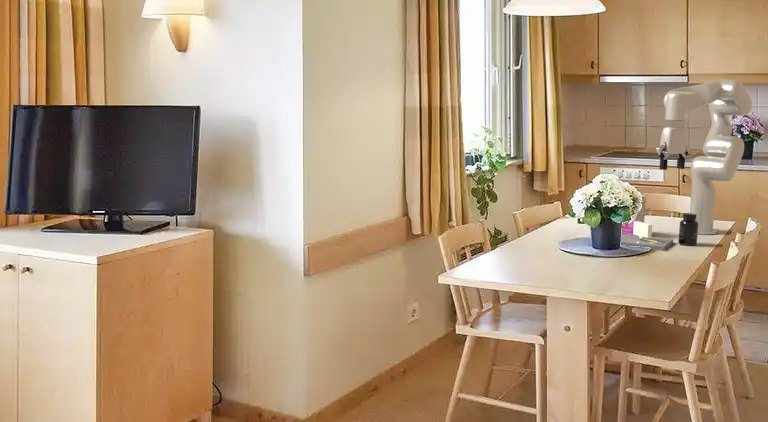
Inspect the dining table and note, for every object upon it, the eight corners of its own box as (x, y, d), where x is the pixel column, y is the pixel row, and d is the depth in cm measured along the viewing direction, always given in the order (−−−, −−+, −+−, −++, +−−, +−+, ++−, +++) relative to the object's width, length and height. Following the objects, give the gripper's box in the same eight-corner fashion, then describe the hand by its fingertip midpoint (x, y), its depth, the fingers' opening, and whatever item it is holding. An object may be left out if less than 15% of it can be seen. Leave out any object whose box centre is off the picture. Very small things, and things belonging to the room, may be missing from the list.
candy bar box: (614, 232, 366) (616, 193, 363) (622, 231, 369) (624, 192, 366) (635, 237, 357) (638, 196, 354) (643, 236, 360) (646, 196, 357)
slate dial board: (621, 237, 356) (621, 233, 356) (673, 242, 347) (673, 238, 347) (609, 244, 341) (609, 240, 341) (663, 250, 331) (663, 246, 331)
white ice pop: (632, 237, 347) (633, 221, 346) (636, 236, 348) (637, 221, 347) (655, 243, 336) (656, 226, 335) (659, 242, 336) (660, 226, 335)
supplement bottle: (698, 246, 341) (700, 215, 339) (679, 245, 342) (681, 214, 340) (695, 243, 347) (697, 212, 346) (677, 242, 349) (679, 211, 347)
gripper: (682, 123, 351) (679, 167, 354) (651, 124, 342) (648, 169, 345) (698, 125, 345) (694, 169, 348) (667, 125, 336) (663, 171, 339)
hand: (671, 169), depth 346 cm, fingers open, 9 cm apart
